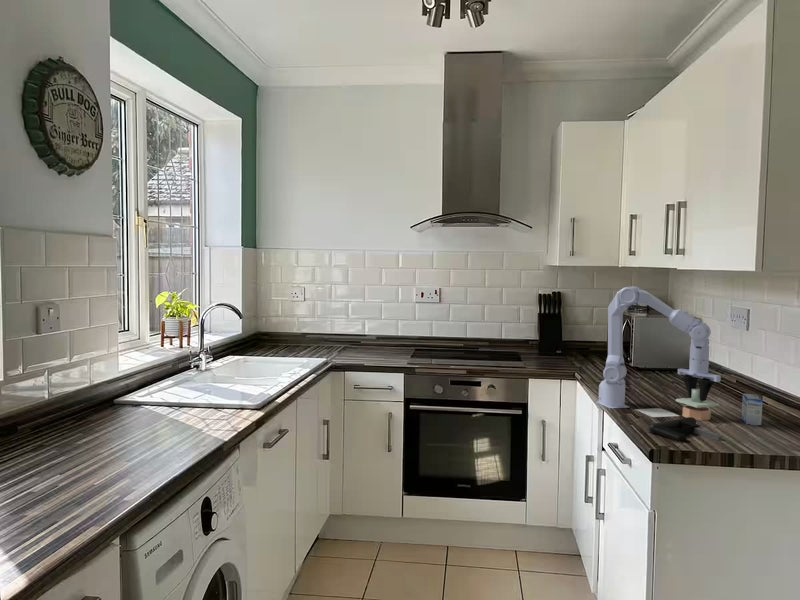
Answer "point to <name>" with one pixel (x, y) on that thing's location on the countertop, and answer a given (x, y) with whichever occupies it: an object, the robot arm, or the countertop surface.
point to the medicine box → (751, 409)
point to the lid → (696, 400)
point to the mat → (656, 412)
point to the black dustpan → (681, 429)
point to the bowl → (697, 412)
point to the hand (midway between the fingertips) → (697, 399)
